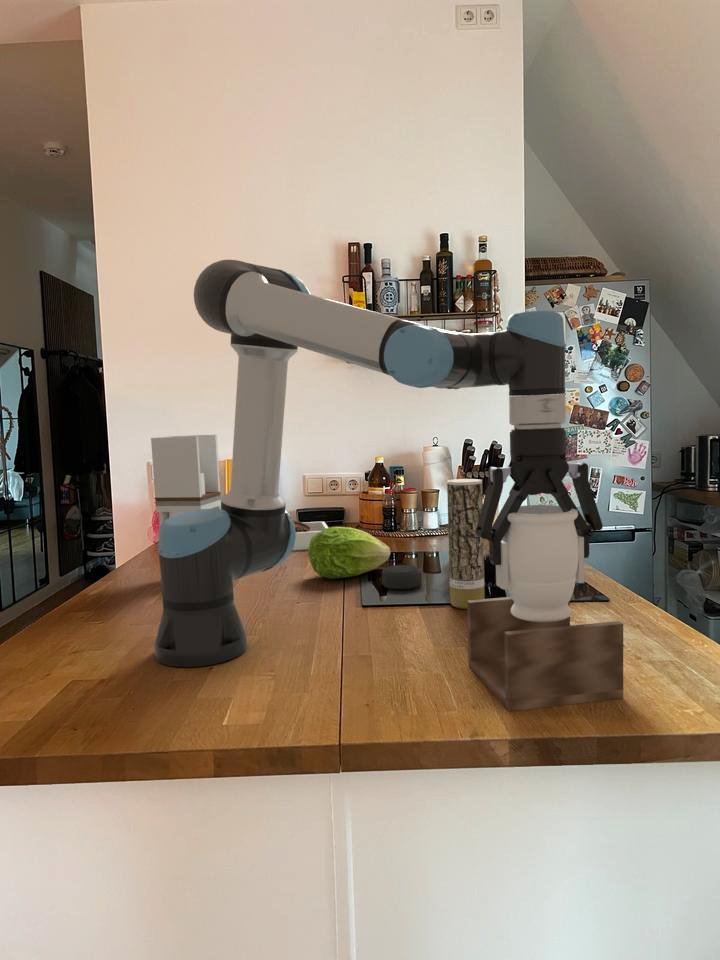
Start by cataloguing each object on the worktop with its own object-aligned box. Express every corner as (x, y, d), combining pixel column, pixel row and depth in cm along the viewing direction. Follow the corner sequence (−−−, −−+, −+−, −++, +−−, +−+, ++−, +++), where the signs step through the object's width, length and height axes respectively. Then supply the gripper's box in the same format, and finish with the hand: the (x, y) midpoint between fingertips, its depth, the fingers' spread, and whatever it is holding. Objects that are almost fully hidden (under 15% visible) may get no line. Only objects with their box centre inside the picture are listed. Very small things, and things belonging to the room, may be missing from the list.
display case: (161, 586, 161) (151, 438, 158) (183, 575, 172) (174, 435, 168) (205, 587, 159) (196, 436, 155) (225, 576, 169) (216, 434, 165)
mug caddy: (276, 551, 197) (275, 534, 196) (273, 540, 215) (272, 524, 214) (331, 547, 199) (330, 530, 199) (324, 536, 217) (323, 521, 217)
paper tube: (484, 610, 133) (481, 482, 130) (449, 609, 134) (445, 482, 132) (485, 600, 139) (482, 478, 137) (451, 600, 141) (448, 479, 138)
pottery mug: (272, 545, 209) (280, 520, 212) (299, 556, 212) (307, 531, 215) (284, 541, 198) (293, 515, 201) (313, 552, 201) (321, 526, 204)
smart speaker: (399, 593, 148) (398, 575, 147) (374, 586, 155) (373, 568, 155) (430, 586, 153) (429, 568, 153) (404, 579, 160) (403, 562, 160)
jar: (523, 600, 104) (522, 502, 103) (590, 610, 98) (589, 506, 96) (489, 618, 96) (487, 512, 95) (560, 630, 90) (558, 517, 88)
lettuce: (411, 549, 165) (383, 514, 174) (336, 552, 152) (310, 514, 161) (391, 589, 171) (365, 552, 180) (316, 595, 158) (292, 556, 167)
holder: (509, 711, 89) (507, 634, 88) (468, 665, 105) (467, 600, 104) (623, 698, 91) (623, 623, 90) (566, 655, 107) (566, 592, 106)
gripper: (465, 431, 89) (470, 597, 91) (629, 423, 93) (630, 583, 95) (449, 430, 96) (453, 584, 98) (601, 422, 100) (602, 571, 102)
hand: (540, 584), depth 97 cm, fingers closed on jar, 10 cm apart
